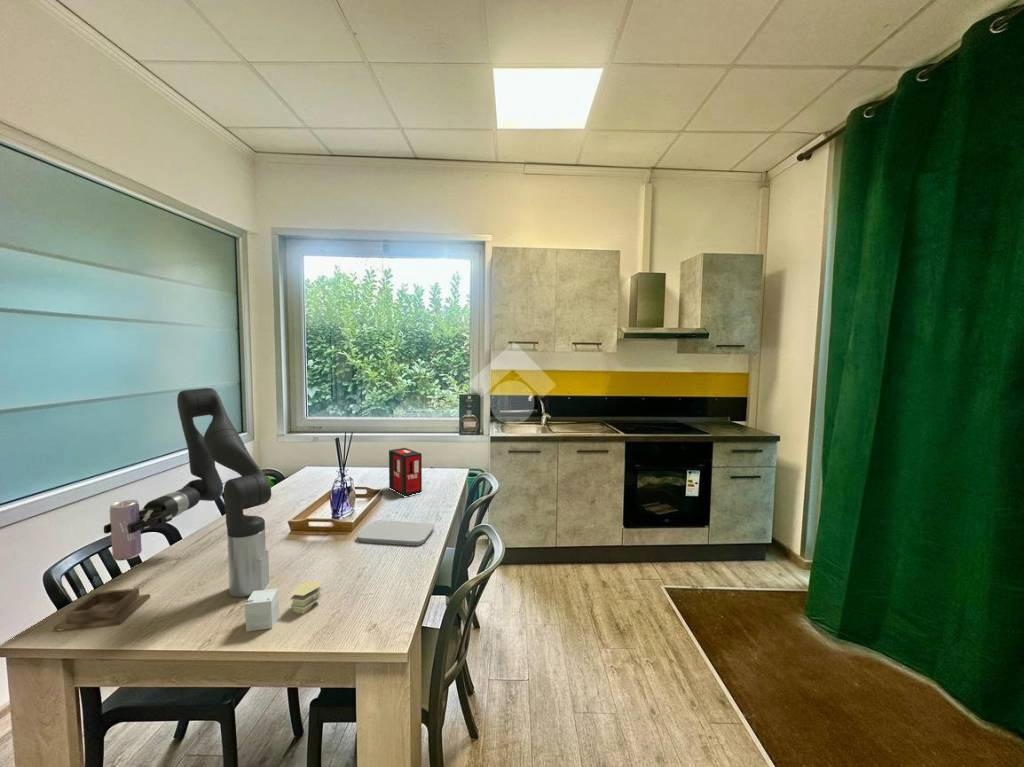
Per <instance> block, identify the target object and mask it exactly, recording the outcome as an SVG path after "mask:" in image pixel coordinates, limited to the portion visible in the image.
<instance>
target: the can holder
mask: <svg viewBox="0 0 1024 767" xmlns="http://www.w3.org/2000/svg"><path fill="white" fill-rule="evenodd" d="M150 598H151V594H150V593H147V594H140V588H139V587H138V588H136V587H135V588H127V589H117V590H104V591H103V590H102V591H96V592H94V593H93V594H91V595H90V596H89V597H88V598H85V600H83V601H82V602H81V603H79V604H78V605H76V606H75V607H73V608H72V609H71V610H70V611H68V612H67V613H65V618H64V619H63V620H61V621H60V622H58V623H57V624H56V625H54V626H53V631H54V630H58V629H70V630H77V629H78V630H79V629H86V628H88V629H89V628H90V629H91V628H97V627H98V628H99V627H108V626H117V625H121V624H122V623H123V622H125V620H127V619H128V618H129V617H130V616H131V615H132V614H134V612H136V611H137V610H138V609H139V608H141V606H143V605H144V603H146V602H147V601H148V600H150Z"/></svg>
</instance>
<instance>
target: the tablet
mask: <svg viewBox="0 0 1024 767" xmlns="http://www.w3.org/2000/svg"><path fill="white" fill-rule="evenodd" d="M434 529H435V525H434V524H433V523H429V522H428V523H427V522H413V521H412V522H411V521H393V520H382V519H381V520H380V519H379V520H373V521H371V522H369V523H368V524H367V525H366V526H365V527H364V528H363V529H361V530H360V531H359V532H358V533H357V534H356V537H357V539H358V541H359V542H360V543H361V542H362V543H373V544H386V543H391V544H390V545H401V544H409V545H408V546H421V545H423V544H424V543H425V542H426V541H427V539H429V536H430V535H431V534H432V532H433V531H434ZM392 543H393V544H392ZM420 544H421V545H420Z"/></svg>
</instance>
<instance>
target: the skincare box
mask: <svg viewBox="0 0 1024 767" xmlns="http://www.w3.org/2000/svg"><path fill="white" fill-rule="evenodd" d="M279 601H280V598H279V588H271V589H264V590H259V591H253V593H252V594H251V595H249V597H248V599H247V600H246V601H245V603H244V616H245V617H244V618H245V631H246V632H255V631H261V630H269V629H273V627H274V626H275V624H276V621H277V619H278V618H279V615H280V602H279Z"/></svg>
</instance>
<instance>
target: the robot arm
mask: <svg viewBox="0 0 1024 767" xmlns="http://www.w3.org/2000/svg"><path fill="white" fill-rule="evenodd" d="M176 399H177V402H176V403H177V410H178V414H179V419H180V421H181V426H182V432H183V435H184V438H185V442H186V446H187V451H188V452H187V453H188V460H189V470H190V473H191V476H194V477H197V479H194V480H191V481H189V482H188V483H187V484H185V485H184V486H183V487H182V488H180V489H178V490H176V491H174V492H170V493H167V494H164V495H162V496H160V497H157V498H155V499H152V500H150V501H148V502H147V503H146V504H145V505H144V506H143V508H141V509H139V514H140V521H138V522H136V523H134V524H132V525H130V526H129V527H128V532H129V533H134V532H136V531H139V530H141V531H142V529H149V527H150V528H156V527H159V526H161V525H164V524H166V523H168V522H170V521H173V518H176V517H177V516H180V515H181V514H183V513H184V512H186V511H188V510H190V509H191V508H194V507H195V506H197V505H198V503H199V502H200V501H204V502H205V501H206V502H207V501H208V502H214V501H217V500H219V499H220V497H221V496H222V494H223V502H224V510H225V523H226V530H227V533H226V535H227V559H228V584H229V585H228V586H229V588H228V589H229V594H230V595H231V596H232V597H235V598H237V597H238V598H240V597H241V598H242V597H247V596H249V597H250V595H251V594H252V593H253V591H259V590H265V588H266V587H267V585H268V584H269V583H270V565H269V564H270V562H269V557H270V556H269V551H268V550H266V546H267V545H266V522H265V519H264V518H263V517H262V516H259V515H247V514H244V510H247V509H248V510H249V509H251V508H255V507H259V506H262V505H264V504H266V503H268V502H269V501H270V500H271V498H272V488H271V484H270V482H269V479H268V478H267V476H266V475H265V473H264V472H263V470H261V468H260V467H259V465H258V464H257V463H256V462H255V460H254V459H253V457H252V455H250V452H249V451H248V449H247V448H246V446H245V443H244V442H243V439H242V438H241V436H240V435H239V432H238V430H237V429H236V428H235V426H234V425H233V423H232V421H231V419H230V418H229V416H228V414H227V411H226V409H225V406H224V405H223V402H222V399H221V397H220V396H219V393H218V392H217V390H215V389H214V388H212V387H204V388H195V389H193V388H192V389H185V390H181V391H179V393H178V394H177V398H176ZM206 416H211V417H212V419H211V422H210V423H209V425H208V427H207V429H206V431H205V433H204V435H203V434H202V433H201V432H200V431H199V430H198V429H197V427H196V425H195V423H194V418H199V417H206ZM216 463H217V464H219V465H220V466H223V467H225V468H227V469H229V470H231V471H233V472H235V473H237V474H238V475H240V476H239V477H235V478H230V479H228V480H226V481H225V483H224V485H223V482H222V479H221V476H220V474H219V471H218V469H217V467H216ZM198 478H199V479H198ZM103 533H104V534H111V524H110V523H108V524H106V525H104V526H103Z"/></svg>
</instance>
